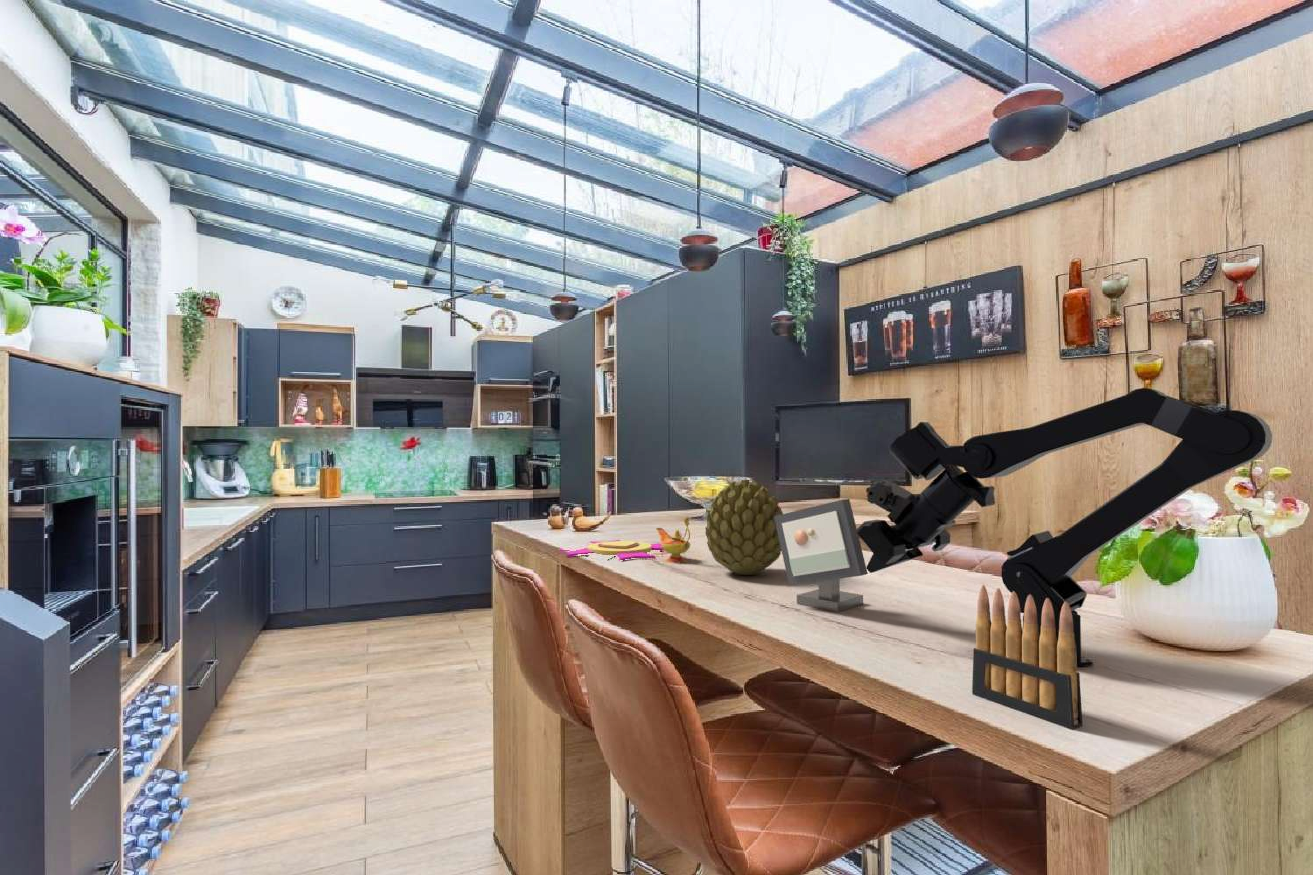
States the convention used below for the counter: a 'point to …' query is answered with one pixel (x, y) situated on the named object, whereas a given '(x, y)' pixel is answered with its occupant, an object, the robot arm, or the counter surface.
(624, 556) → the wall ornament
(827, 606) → the picture stand
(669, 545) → the magic lamp
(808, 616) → the counter surface
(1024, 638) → the ammunition clip
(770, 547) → the decorative object
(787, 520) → the picture frame
